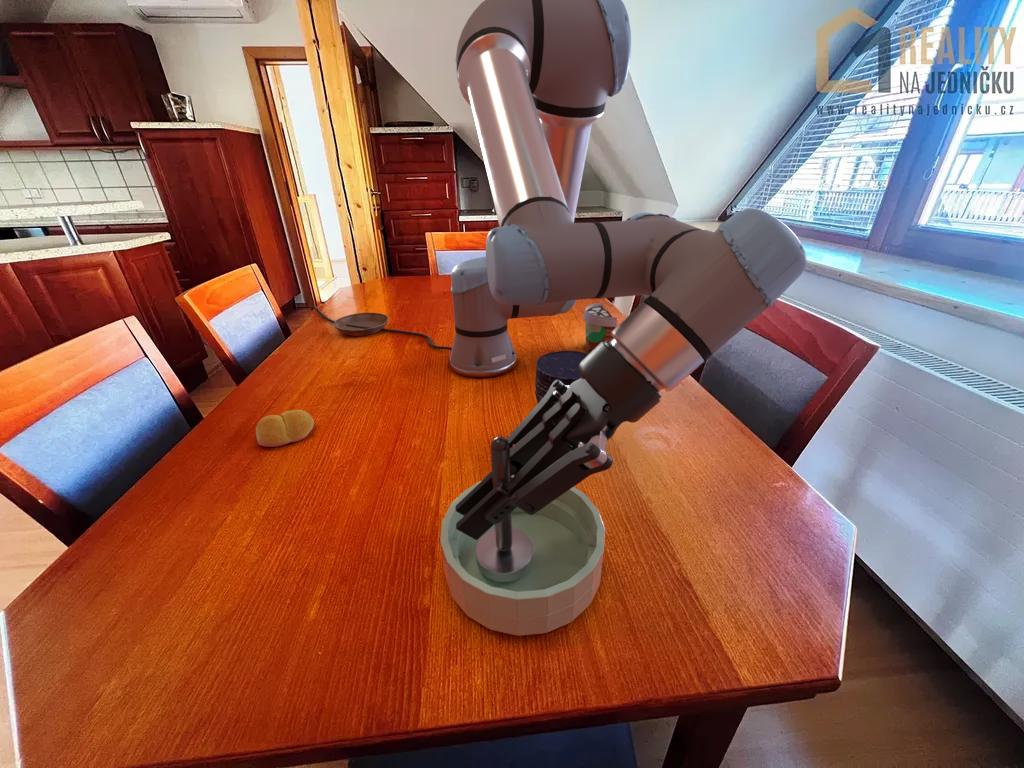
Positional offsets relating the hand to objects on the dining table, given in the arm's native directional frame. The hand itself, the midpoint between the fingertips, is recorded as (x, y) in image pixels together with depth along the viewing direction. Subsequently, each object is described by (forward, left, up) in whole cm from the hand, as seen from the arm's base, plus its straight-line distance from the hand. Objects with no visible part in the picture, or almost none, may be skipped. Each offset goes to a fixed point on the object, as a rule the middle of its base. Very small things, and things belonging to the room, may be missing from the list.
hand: (466, 522), depth 44 cm
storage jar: (-9, +25, -8) cm, 28 cm away
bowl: (+3, +5, -8) cm, 10 cm away
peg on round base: (+2, +3, -6) cm, 7 cm away
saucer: (-86, +24, -8) cm, 90 cm away
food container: (-32, +60, -8) cm, 69 cm away
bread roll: (-44, -8, -8) cm, 45 cm away
